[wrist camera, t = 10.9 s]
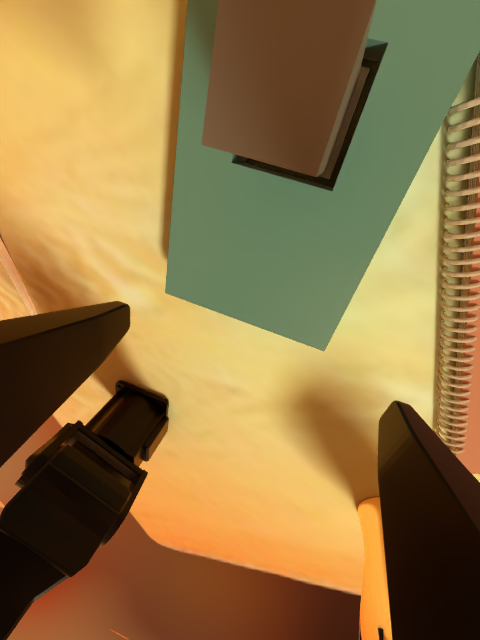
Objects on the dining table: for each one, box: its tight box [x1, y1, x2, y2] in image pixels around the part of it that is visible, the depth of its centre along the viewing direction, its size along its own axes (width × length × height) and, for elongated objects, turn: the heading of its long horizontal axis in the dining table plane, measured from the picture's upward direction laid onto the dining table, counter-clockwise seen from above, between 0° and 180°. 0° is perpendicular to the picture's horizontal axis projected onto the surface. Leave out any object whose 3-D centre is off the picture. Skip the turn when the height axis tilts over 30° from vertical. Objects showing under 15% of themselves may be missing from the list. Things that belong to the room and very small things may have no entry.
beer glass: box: [358, 497, 392, 640], centre depth 22 cm, size 7×7×15 cm
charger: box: [201, 0, 377, 177], centre depth 11 cm, size 4×4×8 cm
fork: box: [0, 238, 37, 315], centre depth 26 cm, size 3×20×2 cm, turn 4°
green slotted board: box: [165, 0, 480, 351], centre depth 15 cm, size 12×20×2 cm, turn 167°
